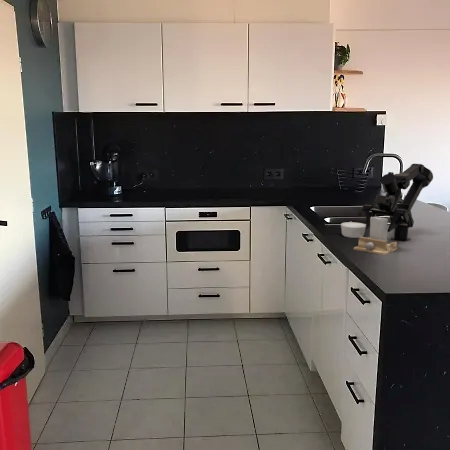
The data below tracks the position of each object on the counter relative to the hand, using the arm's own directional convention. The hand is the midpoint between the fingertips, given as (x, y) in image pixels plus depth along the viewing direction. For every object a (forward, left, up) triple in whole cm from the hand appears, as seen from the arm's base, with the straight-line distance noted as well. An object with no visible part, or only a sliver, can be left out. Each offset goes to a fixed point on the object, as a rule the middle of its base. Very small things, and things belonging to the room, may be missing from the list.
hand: (377, 229), depth 204 cm
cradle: (-1, 0, -8) cm, 8 cm away
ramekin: (-16, -19, -8) cm, 26 cm away
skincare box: (-2, 0, -7) cm, 8 cm away
